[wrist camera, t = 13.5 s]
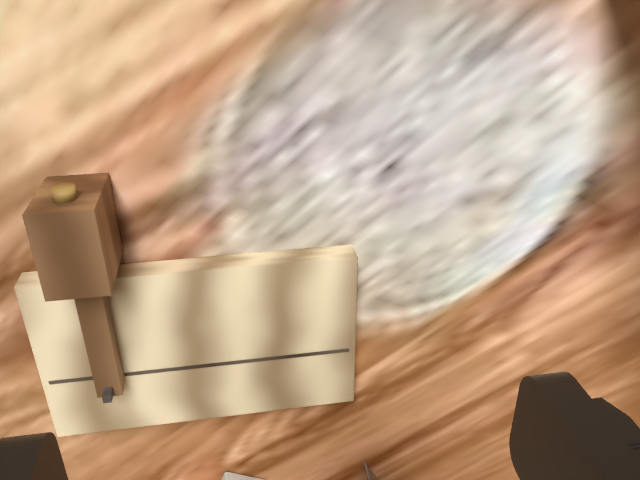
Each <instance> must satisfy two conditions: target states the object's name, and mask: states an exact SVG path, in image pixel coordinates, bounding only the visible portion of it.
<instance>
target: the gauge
mask: <svg viewBox="0 0 640 480" xmlns="http://www.w3.org/2000/svg"><path fill="white" fill-rule="evenodd" d="M22 216H23V220H24V224H25V227H26V231H27V235H28V239H29V243H30V246H31V250H32V254H33V258H34V261H35V265H36V269H37V273H38V277H39V280H40V284H41V288H42V292H43V296H44V299H45V302H48V301H59V300H70V299H74V300H75V305H76V309H77V313H78V317H79V322H80V326H81V330H82V334H83V339H84V343H85V347H86V351H87V355H88V360H89V364H90V368H91V372H92V377H93V381H94V385H95V389H96V394H97V398H102V400H103V403H111V402H112V399H113V396H119V395H123V391H124V386H125V376H124V371H123V366H122V362H121V357H120V352H119V347H118V342H117V337H116V332H115V327H114V322H113V318H112V313H111V308H110V303H109V298H108V296H111V295H112V291H113V288H114V284H115V280H116V276H117V272H118V268H119V264H120V261H121V257H122V253H123V248H122V242H121V237H120V231H119V226H118V220H117V215H116V209H115V204H114V198H113V193H112V187H111V182H110V176H109V173H100V174H84V175H68V176H52V177H46V179H45V180H44V182H43V183H42V185H41V186H40V188H39V190H38V191H37V193H36V194H35V196H34V197H33V199H32V201H31V202H30V204H29V205H28V207H27V208H26V210H25V212H24V213H23V215H22Z"/></svg>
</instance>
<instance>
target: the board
mask: <svg viewBox="0 0 640 480" xmlns="http://www.w3.org/2000/svg"><path fill="white" fill-rule="evenodd" d="M357 261H358V257H357V255H356V253H355V250H354V248H353V246H352V245H342V246H330V247H318V248H306V249H295V250H283V251H271V252H259V253H247V254H235V255H224V256H212V257H200V258H188V259H176V260H165V261H153V262H141V263H129V264H119V268H118V272H117V276H116V280H115V284H114V288H113V291H112V295H111V296H108V298H109V303H110V308H111V313H112V318H113V322H114V327H115V332H116V337H117V342H118V347H119V352H120V357H121V362H122V366H123V371H124V376H125V386H124V391H123V395H119V396H113V399H112V402H111V403H103V400H102V398H97V394H96V389H95V385H94V381H93V377H92V372H91V368H90V364H89V360H88V355H87V351H86V347H85V343H84V339H83V334H82V330H81V326H80V322H79V317H78V313H77V309H76V305H75V300H74V299H70V300H59V301H48V302H45V299H44V296H43V292H42V288H41V284H40V280H39V277H38V273H37V271H34V272H23V273H22V274H21V276H20V277H19V279H18V281H17V283H16V285H15V287H14V288H15V292H16V295H17V299H18V302H19V306H20V309H21V313H22V316H23V319H24V323H25V326H26V330H27V333H28V337H29V340H30V344H31V347H32V350H33V354H34V357H35V361H36V364H37V368H38V371H39V375H40V378H41V381H42V385H43V388H44V392H45V395H46V399H47V402H48V406H49V409H50V412H51V416H52V419H53V423H54V426H55V430H56V433H57V437H61V436H69V435H77V434H85V433H94V432H102V431H110V430H118V429H126V428H135V427H143V426H151V425H159V424H167V423H176V422H184V421H192V420H200V419H208V418H217V417H225V416H233V415H241V414H250V413H258V412H266V411H274V410H282V409H291V408H299V407H307V406H315V405H323V404H332V403H340V402H348V401H354V377H355V338H356V299H357Z"/></svg>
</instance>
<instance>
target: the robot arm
mask: <svg viewBox="0 0 640 480" xmlns="http://www.w3.org/2000/svg"><path fill="white" fill-rule="evenodd" d="M509 444H510V454H511V458H512V462H513V465H514V468H515V470H516V473H517V475H518V477H519V478H520V480H640V428H639V427H638V426H637V425H636V424H635V423H634V421H633V420H632V419H631V418H630V417H629V416H627V415H626V414H625V413H623V412H622V411H620V410H619V409H617V408H616V407H614V406H613V405H611V404H610V403H608V402H607V401H606V400H604V399H603V398H594V399H591V398H590V396H589V395H588V394H587V393H586V391H585V390H584V389H583V388H582V386H581V385H580V384H579V383H578V381H577V380H576V379H575V378H574V377H573V376H572V375H571V374H570V373H568V372H559V373H550V374H542V375H534V376H526V377H524V378H523V379H522V381H521V383H520V387H519V392H518V397H517V402H516V408H515V413H514V418H513V423H512V428H511V433H510V442H509ZM0 480H68V477H67V474H66V470H65V467H64V463H63V460H62V457H61V453H60V450H59V446H58V443H57V440H56V437H55V435H54V434H53V433H51V432H48V433H40V434H32V435H24V436H15V437H7V438H2V439H0Z"/></svg>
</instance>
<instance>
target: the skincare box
mask: <svg viewBox="0 0 640 480" xmlns="http://www.w3.org/2000/svg"><path fill="white" fill-rule="evenodd" d="M221 480H264V479H260V478H255V477H250V476H245V475H240V474H236V473H231V472H225V473H224V475H223V477H222V479H221Z"/></svg>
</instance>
